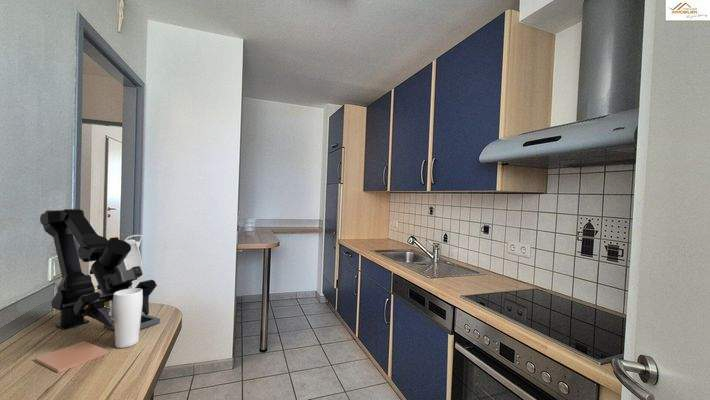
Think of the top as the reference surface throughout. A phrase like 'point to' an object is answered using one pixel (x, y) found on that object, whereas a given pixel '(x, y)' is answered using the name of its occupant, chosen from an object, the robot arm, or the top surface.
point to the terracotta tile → (71, 356)
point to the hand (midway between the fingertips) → (130, 320)
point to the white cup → (127, 316)
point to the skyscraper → (130, 264)
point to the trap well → (145, 322)
